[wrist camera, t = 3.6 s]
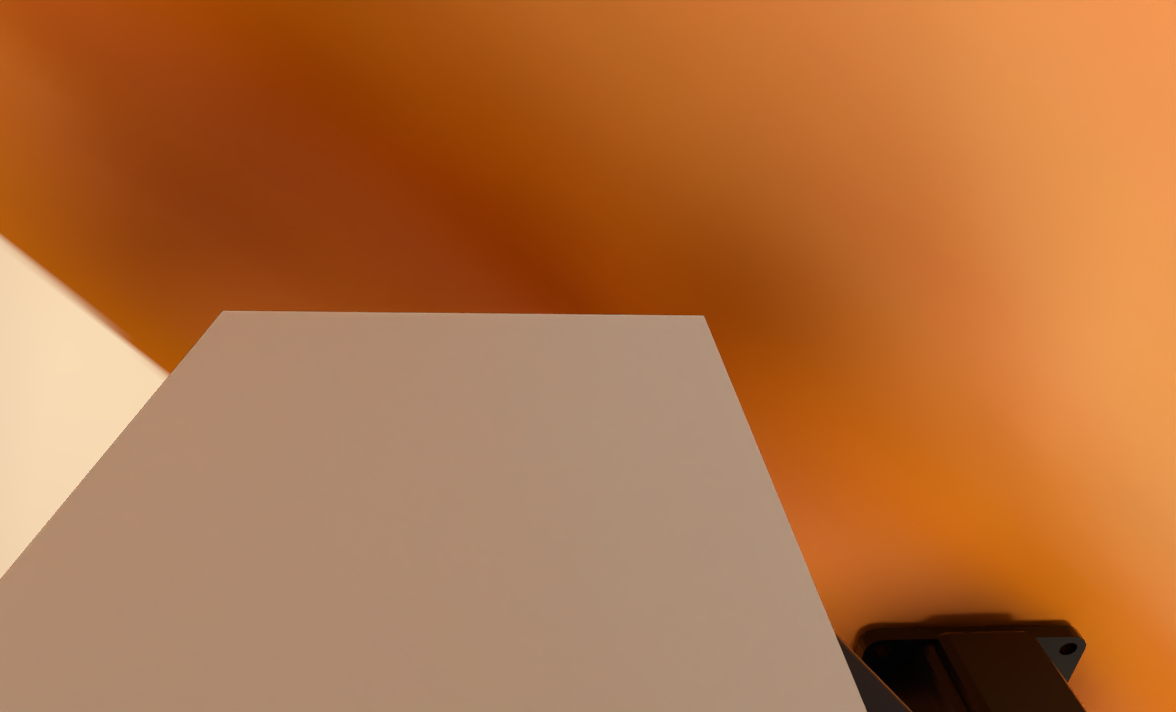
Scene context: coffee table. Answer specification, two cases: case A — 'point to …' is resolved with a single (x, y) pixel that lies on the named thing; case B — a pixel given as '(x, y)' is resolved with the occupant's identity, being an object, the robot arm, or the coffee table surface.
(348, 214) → the coffee table surface
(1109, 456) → the coffee table surface
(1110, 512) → the coffee table surface
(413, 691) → the top block
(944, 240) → the coffee table surface
